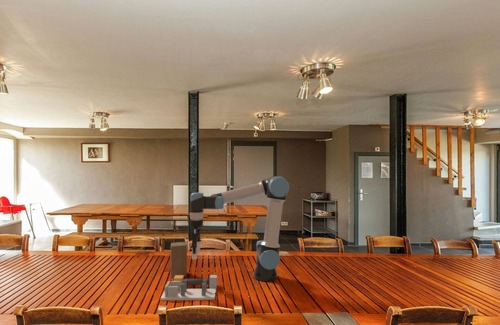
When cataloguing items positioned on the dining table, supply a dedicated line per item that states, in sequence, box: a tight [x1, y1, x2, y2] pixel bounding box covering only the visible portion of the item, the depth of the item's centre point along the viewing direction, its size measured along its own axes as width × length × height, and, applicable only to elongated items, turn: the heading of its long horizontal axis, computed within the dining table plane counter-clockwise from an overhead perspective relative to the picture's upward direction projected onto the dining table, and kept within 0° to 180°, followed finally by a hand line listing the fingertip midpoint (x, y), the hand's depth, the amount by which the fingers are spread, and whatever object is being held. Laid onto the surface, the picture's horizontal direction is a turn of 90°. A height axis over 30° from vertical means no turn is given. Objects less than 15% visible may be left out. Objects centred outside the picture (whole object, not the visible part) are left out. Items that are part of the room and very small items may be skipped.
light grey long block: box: [160, 280, 217, 301], centre depth 167 cm, size 28×12×7 cm, turn 92°
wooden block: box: [170, 241, 188, 278], centre depth 199 cm, size 10×10×20 cm
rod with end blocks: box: [173, 274, 218, 289], centre depth 179 cm, size 24×5×6 cm, turn 92°
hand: (196, 255), depth 179 cm, fingers open, 13 cm apart
